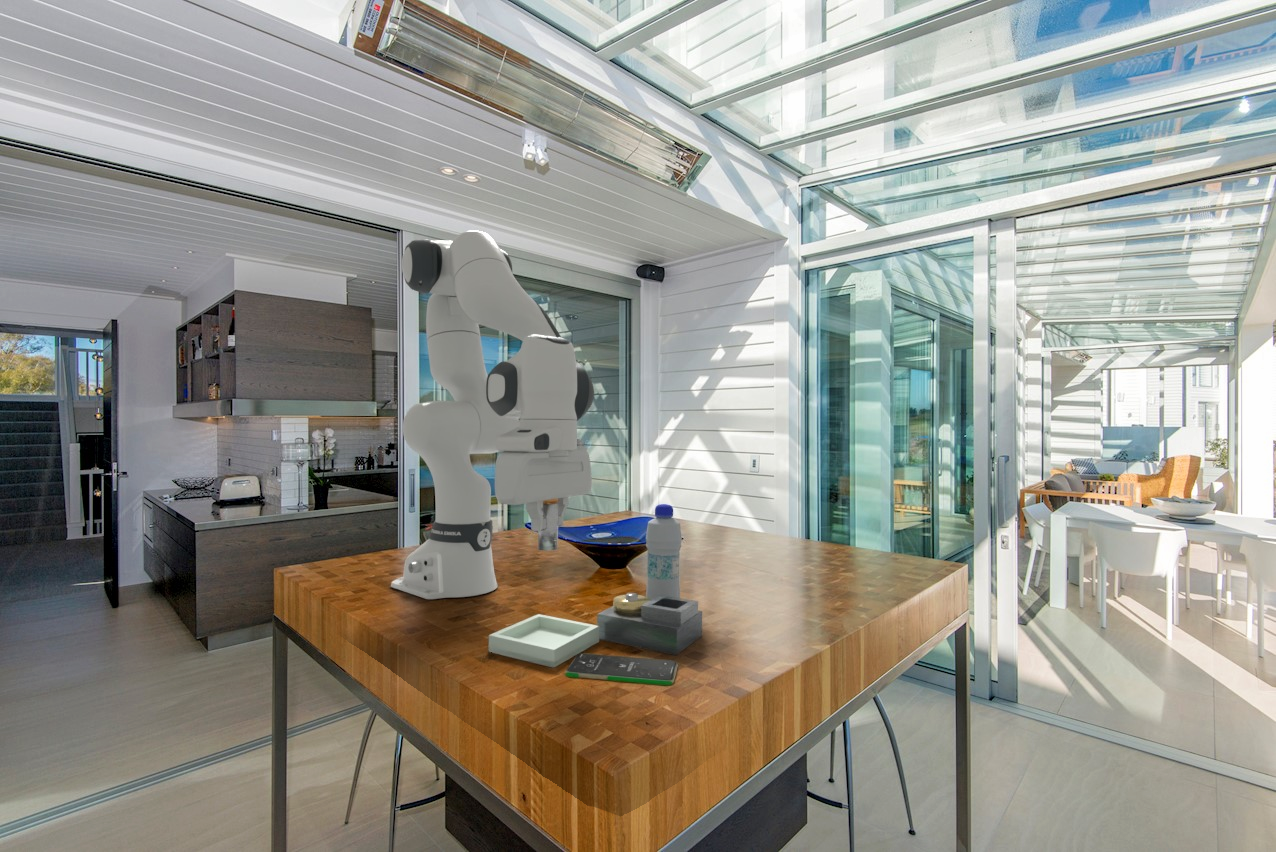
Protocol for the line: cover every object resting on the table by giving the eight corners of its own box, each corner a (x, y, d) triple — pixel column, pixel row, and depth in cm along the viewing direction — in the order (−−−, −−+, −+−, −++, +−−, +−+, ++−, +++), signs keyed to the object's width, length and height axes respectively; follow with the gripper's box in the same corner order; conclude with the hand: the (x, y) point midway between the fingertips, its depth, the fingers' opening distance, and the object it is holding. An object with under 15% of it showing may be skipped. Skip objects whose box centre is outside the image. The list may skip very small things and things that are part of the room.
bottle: (678, 619, 106) (679, 507, 106) (641, 616, 108) (642, 505, 108) (683, 608, 113) (684, 502, 113) (648, 605, 114) (649, 501, 114)
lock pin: (534, 549, 91) (534, 493, 92) (545, 546, 94) (546, 492, 94) (549, 551, 90) (550, 494, 90) (561, 548, 93) (561, 493, 93)
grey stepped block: (596, 638, 96) (597, 598, 96) (627, 621, 105) (627, 585, 105) (676, 655, 89) (677, 612, 89) (701, 635, 98) (702, 596, 98)
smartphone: (673, 681, 79) (563, 672, 81) (673, 689, 79) (563, 679, 81) (678, 659, 86) (578, 651, 89) (678, 666, 86) (577, 658, 89)
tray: (488, 651, 90) (488, 635, 90) (538, 628, 100) (538, 614, 100) (553, 667, 84) (554, 649, 84) (598, 641, 94) (599, 625, 95)
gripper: (569, 438, 103) (569, 519, 103) (487, 439, 85) (486, 536, 85) (601, 438, 100) (600, 521, 100) (522, 439, 82) (521, 540, 82)
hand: (547, 528), depth 92 cm, fingers closed on lock pin, 3 cm apart
